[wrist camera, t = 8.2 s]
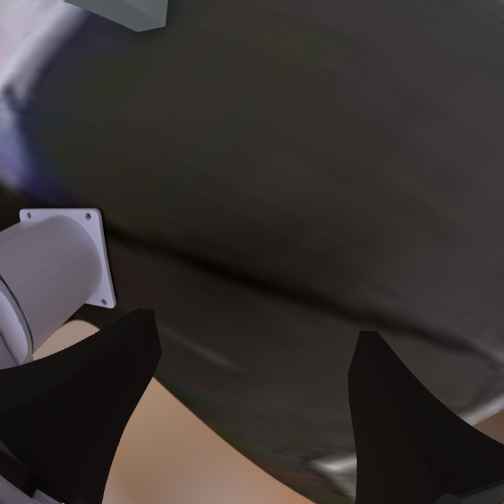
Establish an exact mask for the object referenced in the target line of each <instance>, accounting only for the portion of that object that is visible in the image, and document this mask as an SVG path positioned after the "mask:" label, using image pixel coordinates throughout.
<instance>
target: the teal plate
mask: <svg viewBox="0 0 504 504" xmlns="http://www.w3.org/2000/svg"><path fill="white" fill-rule="evenodd" d="M63 1H64V2H67V3H70V4H73V5H75V6H78V7H81V8H83V9H86V10H88V11H91V12H93V13H96V14H98V15H100V16H103V17H105V18H107V19H110V20H112V21H114V22H117V23H119V24H121V25H123V26H125V27H127V28H130V29H132V30H134V31H136V32H141V31H146V30H150V29H155V28H161V27H166V16H167V5H168V0H63Z"/></svg>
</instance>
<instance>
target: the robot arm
mask: <svg viewBox="0 0 504 504" xmlns="http://www.w3.org/2000/svg"><path fill="white" fill-rule="evenodd" d="M30 214H31V215H30ZM88 214H90V216H91V218H90V217H89V215H88ZM20 220H21V222H20V223H17V224H15V225H13V226H11V227H9V228H7V229H5V230H3V231H1V232H0V504H61V503H64V504H102V500H103V495H104V490H105V486H106V482H107V479H108V475H109V471H110V468H111V465H112V461H113V458H114V456H115V452H116V450H117V447H118V444H119V442H120V439H121V436H122V434H123V431H124V429H125V427H126V424H127V422H128V420H129V419H130V417H131V415H132V413H133V411H134V409H135V408H136V406H137V404H138V402H139V401H140V399H141V397H142V395H143V393H144V391H145V390H146V388H147V386H148V384H149V383H150V381H151V379H152V377H153V375H154V372H155V370H156V367H157V365H158V362H159V359H160V357H161V354H162V352H161V347H160V342H159V337H158V332H157V326H156V321H155V315H154V310H147V309H141V308H139V309H136V310H134V311H133V312H131V313H129V314H127V315H125V316H124V317H122V318H120V319H119V320H117V321H115V322H113V323H112V324H110V325H108V326H107V327H105V328H103V329H101V330H100V331H98V332H96V333H95V334H93V335H91V336H89V337H87V338H85V339H84V340H81V341H80V342H78V343H76V344H74V345H72V346H70V347H68V348H66V349H64V350H61V351H59V352H57V353H54V354H52V355H49V356H47V357H45V358H41V359H38V360H35V361H34V359H33V356H32V355H33V353H34V352H35V351H36V350H37V349H38V348H39V347H40V346H41V345H42V344H43V343H44V342H45V341H46V340H47V339H48V338H49V337H50V336H51V335H52V334H53V333H54V332H55V331H56V330H57V329H58V328H59V327H60V326H61V325H62V324H63V323H64V322H65V321H66V320H67V319H68V318H69V317H70V316H71V315H72V314H73V313H74V312H76V311H77V310H78V309H79V308H80V307H81V306H82V305H83V304H84V303H88V304H92V305H97V306H102V307H107V308H113V307H114V306H115V305H116V299H115V294H114V289H113V284H112V279H111V274H110V269H109V263H108V257H107V251H106V245H105V238H104V231H103V224H102V216H101V212H100V211H99V210H98V209H95V208H40V209H22V210H21V211H20ZM104 300H105V301H106V302H105V301H104ZM348 392H349V404H350V411H351V418H352V424H353V431H354V439H355V446H356V457H357V484H356V502H355V504H502V503H503V502H504V444H502V443H499V442H497V441H496V440H494V439H492V438H490V437H489V436H487V435H485V434H483V433H482V432H480V431H478V430H477V429H475V428H474V427H472V426H471V425H469V424H468V423H467V422H465V421H464V420H462V419H461V418H460V417H458V416H457V415H456V414H454V413H453V412H452V411H451V410H449V409H448V408H447V407H446V406H445V405H444V404H442V403H441V402H440V401H439V400H438V399H437V398H436V397H435V396H434V395H432V394H431V393H430V392H429V391H428V390H427V389H426V388H425V386H424V385H423V384H422V383H421V382H420V381H419V380H418V379H417V378H416V377H415V376H414V375H413V374H412V373H411V371H410V370H409V369H408V368H407V367H406V366H405V365H404V363H403V362H402V361H401V360H400V359H399V357H398V356H397V355H396V354H395V353H394V351H393V350H392V349H391V348H390V346H389V345H388V344H387V343H386V341H385V340H384V339H383V338H382V337H381V335H380V334H379V333H378V332H377V331H360V333H359V337H358V341H357V345H356V348H355V352H354V355H353V359H352V362H351V365H350V369H349V372H348Z"/></svg>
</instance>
